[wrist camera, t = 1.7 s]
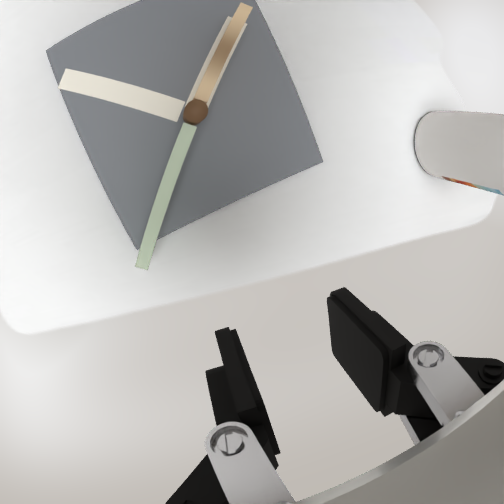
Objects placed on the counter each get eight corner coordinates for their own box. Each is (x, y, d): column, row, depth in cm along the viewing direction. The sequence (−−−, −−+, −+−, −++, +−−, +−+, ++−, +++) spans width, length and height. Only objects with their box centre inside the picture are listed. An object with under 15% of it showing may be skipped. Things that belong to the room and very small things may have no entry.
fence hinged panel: (182, 125, 23) (183, 122, 20) (194, 129, 23) (197, 127, 20) (138, 252, 25) (135, 266, 22) (150, 255, 26) (147, 270, 23)
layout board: (46, 52, 18) (44, 51, 17) (238, -28, 19) (239, -30, 19) (136, 249, 26) (135, 250, 26) (321, 161, 27) (323, 161, 27)
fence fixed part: (228, 18, 21) (239, -3, 17) (245, 25, 22) (259, 5, 17) (179, 122, 23) (180, 117, 19) (197, 128, 24) (202, 125, 20)
